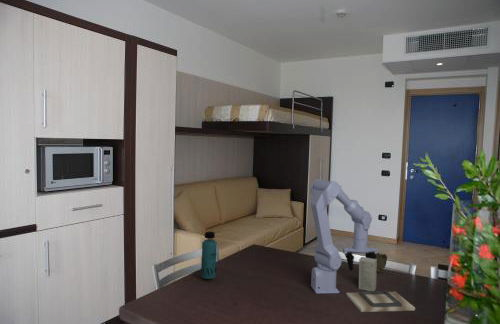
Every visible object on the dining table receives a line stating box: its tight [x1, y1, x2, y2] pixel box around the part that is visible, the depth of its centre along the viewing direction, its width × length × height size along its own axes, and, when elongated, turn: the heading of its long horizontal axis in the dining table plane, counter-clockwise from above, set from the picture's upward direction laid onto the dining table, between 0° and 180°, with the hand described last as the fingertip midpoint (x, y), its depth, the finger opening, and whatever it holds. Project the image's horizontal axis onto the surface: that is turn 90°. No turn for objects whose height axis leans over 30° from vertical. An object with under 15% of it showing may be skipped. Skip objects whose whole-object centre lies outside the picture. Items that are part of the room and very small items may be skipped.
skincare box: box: [358, 256, 378, 291], centre depth 136 cm, size 6×4×12 cm
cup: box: [375, 252, 388, 274], centre depth 156 cm, size 8×7×8 cm
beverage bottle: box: [200, 231, 218, 280], centre depth 141 cm, size 6×7×20 cm
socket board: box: [346, 290, 416, 313], centre depth 125 cm, size 20×13×2 cm, turn 96°
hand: (359, 269), depth 144 cm, fingers open, 7 cm apart
